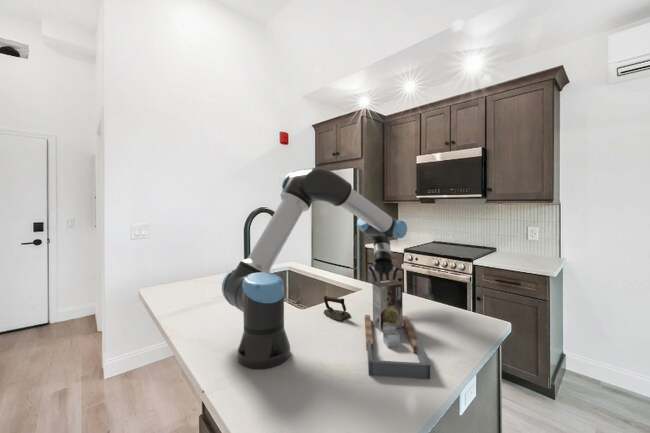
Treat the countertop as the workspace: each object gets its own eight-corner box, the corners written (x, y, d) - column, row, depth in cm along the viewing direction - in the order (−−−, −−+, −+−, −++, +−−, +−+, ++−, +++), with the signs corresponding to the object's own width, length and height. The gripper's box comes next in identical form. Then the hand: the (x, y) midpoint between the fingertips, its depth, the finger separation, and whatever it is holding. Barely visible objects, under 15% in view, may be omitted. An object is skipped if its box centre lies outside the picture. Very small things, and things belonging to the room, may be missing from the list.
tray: (430, 378, 76) (430, 365, 76) (368, 375, 78) (368, 361, 78) (419, 353, 89) (419, 341, 89) (367, 350, 91) (367, 339, 91)
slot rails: (420, 353, 89) (420, 346, 89) (366, 350, 91) (366, 344, 91) (407, 321, 113) (407, 316, 113) (364, 319, 115) (364, 314, 114)
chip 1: (396, 339, 99) (396, 327, 98) (383, 338, 99) (383, 326, 99) (394, 333, 103) (394, 322, 102) (383, 333, 103) (383, 321, 103)
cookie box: (393, 321, 113) (393, 279, 113) (403, 327, 107) (403, 283, 106) (371, 324, 110) (372, 281, 110) (380, 331, 104) (380, 285, 103)
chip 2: (399, 347, 93) (399, 334, 93) (387, 348, 93) (387, 335, 92) (395, 341, 97) (395, 329, 97) (383, 342, 97) (383, 329, 96)
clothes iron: (342, 324, 112) (335, 298, 112) (320, 323, 119) (313, 299, 119) (352, 316, 118) (346, 291, 118) (330, 316, 125) (324, 293, 125)
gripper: (396, 260, 135) (401, 309, 119) (367, 259, 136) (369, 308, 121) (398, 250, 129) (404, 301, 114) (368, 250, 131) (369, 300, 115)
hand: (386, 305), depth 117 cm, fingers closed
